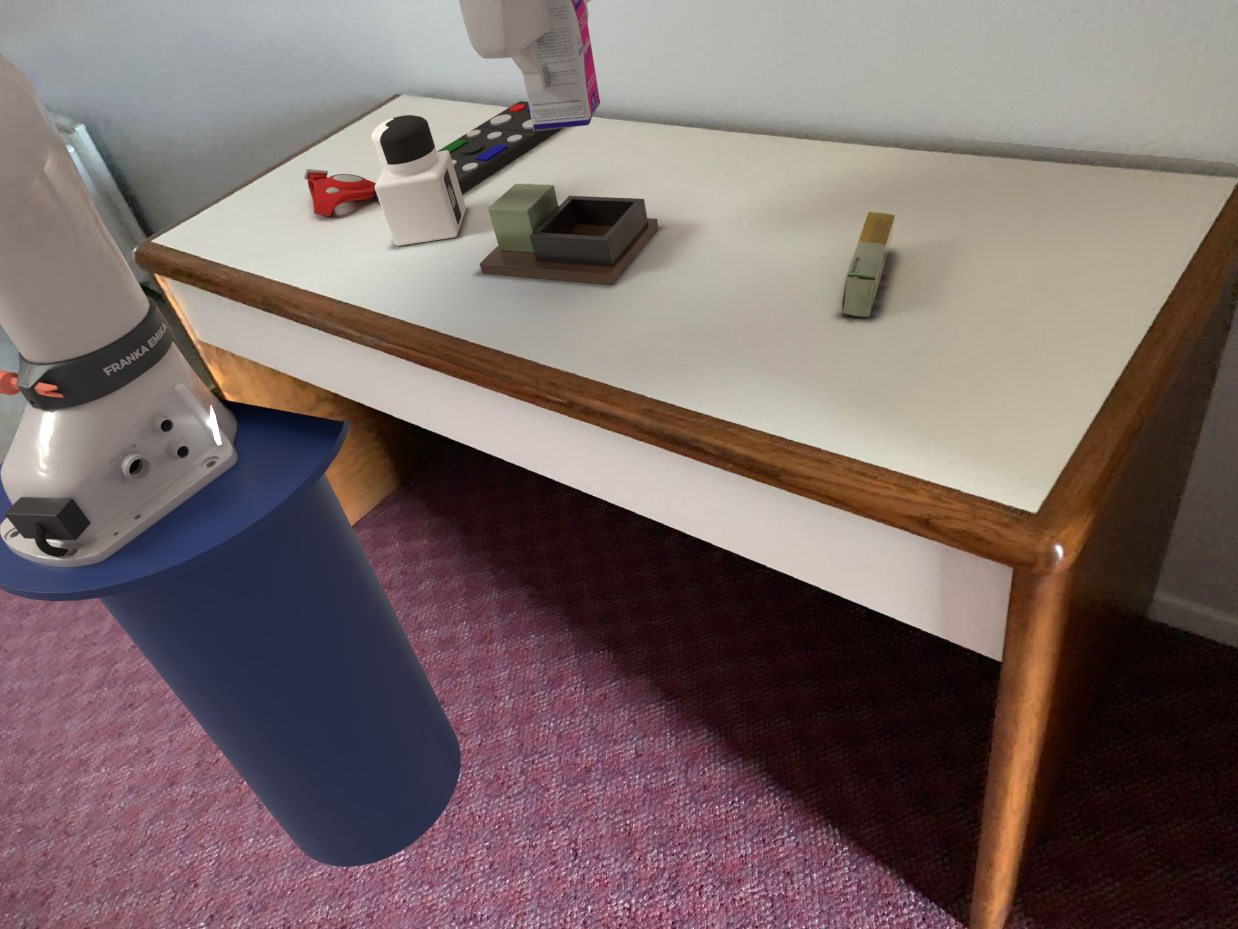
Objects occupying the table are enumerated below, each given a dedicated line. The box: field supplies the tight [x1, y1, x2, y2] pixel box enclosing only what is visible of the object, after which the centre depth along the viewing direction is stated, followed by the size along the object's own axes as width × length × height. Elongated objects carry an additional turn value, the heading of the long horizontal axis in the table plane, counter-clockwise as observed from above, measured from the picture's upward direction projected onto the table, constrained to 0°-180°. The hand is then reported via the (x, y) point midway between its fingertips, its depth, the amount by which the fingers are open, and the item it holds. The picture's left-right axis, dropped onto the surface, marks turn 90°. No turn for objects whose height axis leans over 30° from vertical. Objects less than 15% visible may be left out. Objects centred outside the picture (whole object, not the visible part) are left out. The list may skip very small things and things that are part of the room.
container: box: [370, 114, 467, 247], centre depth 108 cm, size 8×8×13 cm
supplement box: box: [521, 0, 601, 131], centre depth 87 cm, size 6×6×12 cm
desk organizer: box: [479, 183, 659, 285], centre depth 100 cm, size 12×16×6 cm
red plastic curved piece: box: [303, 168, 377, 217], centre depth 123 cm, size 12×4×10 cm
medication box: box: [840, 211, 896, 319], centre depth 85 cm, size 12×3×4 cm, turn 160°
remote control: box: [373, 100, 563, 202], centre depth 127 cm, size 11×30×2 cm, turn 144°
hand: (559, 73), depth 88 cm, fingers closed on supplement box, 6 cm apart
